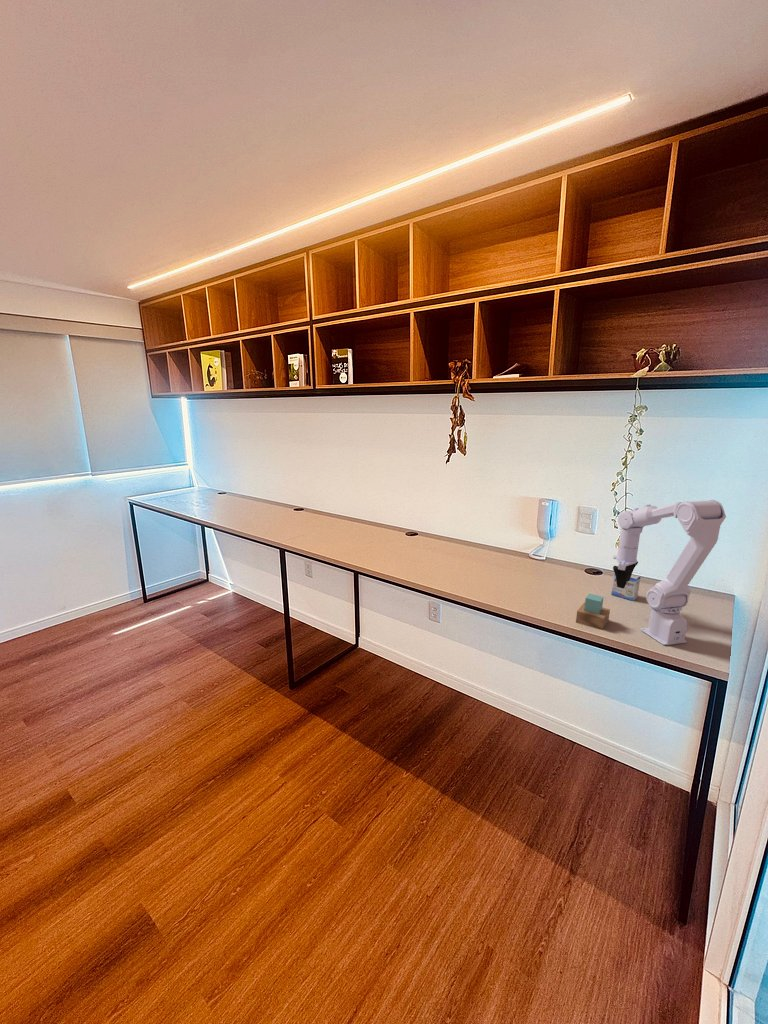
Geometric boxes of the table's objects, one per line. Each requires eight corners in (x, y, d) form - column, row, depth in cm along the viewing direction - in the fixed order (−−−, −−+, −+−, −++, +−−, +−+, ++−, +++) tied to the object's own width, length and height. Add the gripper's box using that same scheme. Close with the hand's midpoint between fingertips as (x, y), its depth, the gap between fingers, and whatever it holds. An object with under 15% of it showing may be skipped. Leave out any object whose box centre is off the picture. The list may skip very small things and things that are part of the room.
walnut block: (608, 620, 143) (609, 609, 142) (602, 629, 137) (603, 618, 136) (582, 613, 148) (584, 602, 147) (575, 622, 142) (577, 611, 141)
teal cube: (602, 609, 142) (603, 596, 141) (598, 614, 139) (600, 601, 138) (587, 605, 145) (589, 593, 144) (584, 610, 142) (585, 597, 141)
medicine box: (610, 595, 163) (613, 573, 161) (614, 591, 166) (617, 570, 164) (633, 601, 157) (637, 579, 155) (637, 597, 160) (640, 575, 158)
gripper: (619, 538, 154) (615, 574, 157) (610, 549, 143) (605, 587, 146) (642, 542, 149) (637, 579, 153) (634, 553, 139) (628, 593, 142)
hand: (623, 583), depth 149 cm, fingers open, 7 cm apart
